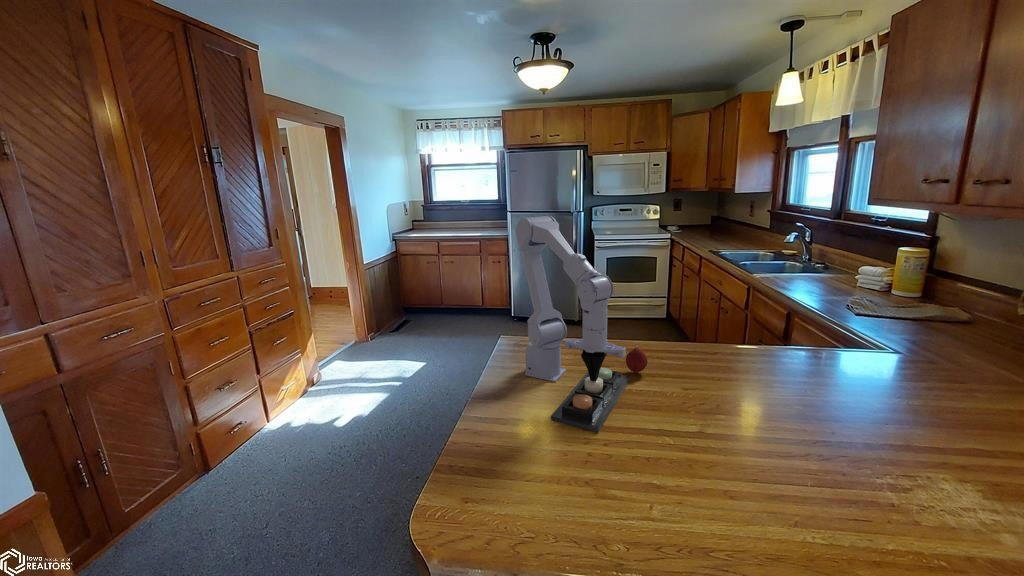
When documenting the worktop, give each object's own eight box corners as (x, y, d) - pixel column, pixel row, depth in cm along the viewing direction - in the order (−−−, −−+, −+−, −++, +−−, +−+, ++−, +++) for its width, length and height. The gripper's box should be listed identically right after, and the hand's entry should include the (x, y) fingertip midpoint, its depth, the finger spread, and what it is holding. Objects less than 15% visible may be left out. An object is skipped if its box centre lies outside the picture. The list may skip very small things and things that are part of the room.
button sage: (592, 382, 108) (592, 373, 107) (597, 375, 111) (598, 366, 111) (609, 385, 105) (609, 376, 105) (613, 378, 109) (614, 369, 109)
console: (550, 420, 93) (550, 408, 92) (590, 373, 116) (590, 363, 115) (598, 433, 88) (598, 420, 87) (629, 380, 111) (629, 370, 110)
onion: (648, 378, 112) (649, 350, 110) (626, 377, 113) (627, 349, 111) (645, 369, 117) (646, 342, 115) (624, 368, 118) (625, 342, 116)
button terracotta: (570, 411, 94) (570, 401, 93) (576, 402, 98) (576, 392, 97) (588, 415, 92) (588, 405, 91) (594, 406, 96) (594, 396, 95)
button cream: (582, 391, 101) (582, 382, 100) (588, 384, 104) (588, 375, 104) (599, 395, 98) (599, 386, 98) (605, 387, 102) (605, 378, 102)
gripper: (559, 327, 98) (560, 380, 101) (620, 336, 91) (619, 392, 94) (570, 319, 103) (570, 369, 107) (628, 326, 96) (627, 379, 100)
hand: (594, 379), depth 101 cm, fingers closed
